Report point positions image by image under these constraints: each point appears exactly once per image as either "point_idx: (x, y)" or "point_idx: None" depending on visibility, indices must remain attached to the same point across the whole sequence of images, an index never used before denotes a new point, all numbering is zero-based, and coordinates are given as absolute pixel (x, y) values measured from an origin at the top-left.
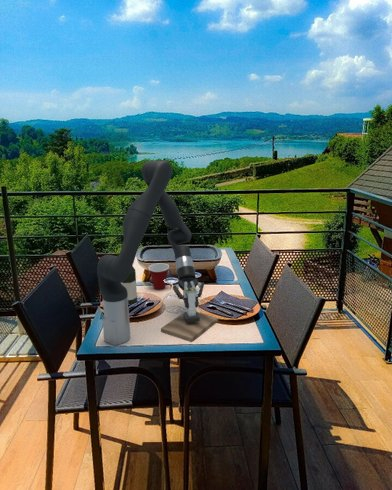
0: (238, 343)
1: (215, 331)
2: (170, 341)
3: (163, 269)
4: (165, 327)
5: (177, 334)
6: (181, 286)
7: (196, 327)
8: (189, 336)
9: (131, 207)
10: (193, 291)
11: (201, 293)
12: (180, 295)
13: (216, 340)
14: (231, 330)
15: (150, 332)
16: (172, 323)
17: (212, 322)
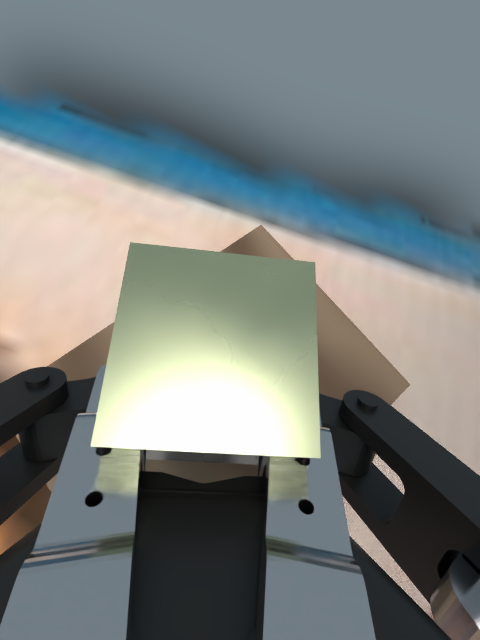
0: (53, 152)
1: (99, 285)
2: (355, 274)
3: None
4: (381, 382)
5: (321, 293)
6: (414, 601)
7: None
8: (267, 243)
9: None
10: (191, 259)
11: (15, 380)
12: (377, 400)
13: (139, 207)
14: (6, 264)
15: (452, 397)
16: None
17: (72, 350)
